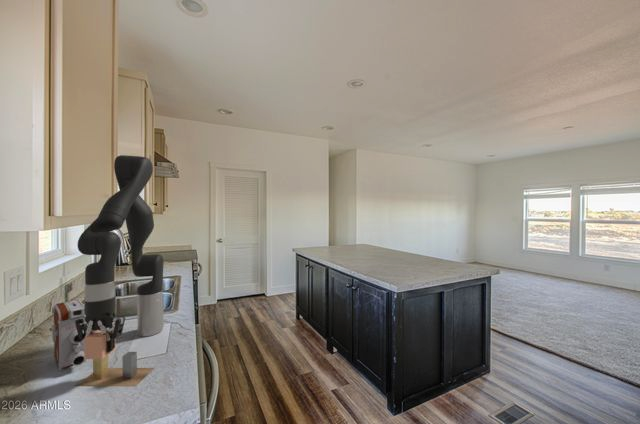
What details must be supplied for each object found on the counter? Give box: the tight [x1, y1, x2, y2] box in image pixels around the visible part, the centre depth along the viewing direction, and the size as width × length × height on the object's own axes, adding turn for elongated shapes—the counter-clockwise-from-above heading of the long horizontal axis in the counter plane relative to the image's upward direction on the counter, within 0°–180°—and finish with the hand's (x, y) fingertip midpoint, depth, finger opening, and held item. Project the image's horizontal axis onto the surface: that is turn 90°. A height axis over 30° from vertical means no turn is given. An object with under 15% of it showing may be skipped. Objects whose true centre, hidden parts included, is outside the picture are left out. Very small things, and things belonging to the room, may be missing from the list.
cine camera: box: [51, 299, 88, 371], centre depth 92 cm, size 9×19×20 cm, turn 49°
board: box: [75, 367, 155, 387], centre depth 84 cm, size 9×18×1 cm, turn 90°
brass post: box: [92, 355, 109, 379], centre depth 84 cm, size 3×3×7 cm
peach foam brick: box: [85, 328, 116, 360], centre depth 84 cm, size 5×5×7 cm
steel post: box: [121, 351, 138, 379], centre depth 84 cm, size 3×3×7 cm
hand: (100, 351), depth 84 cm, fingers closed on peach foam brick, 5 cm apart
